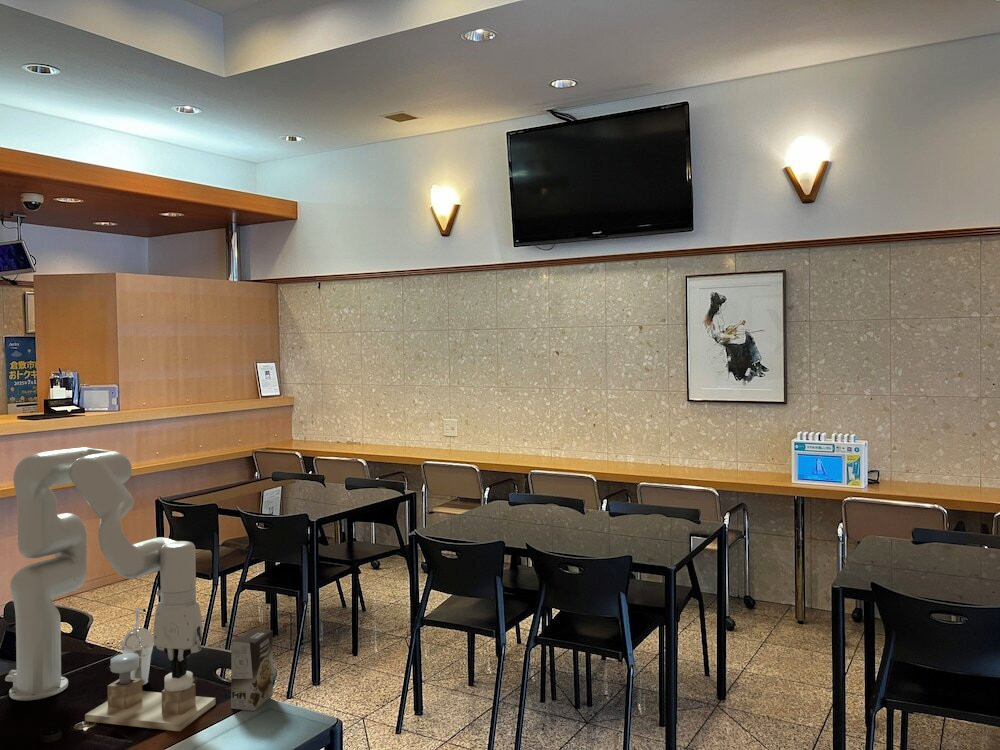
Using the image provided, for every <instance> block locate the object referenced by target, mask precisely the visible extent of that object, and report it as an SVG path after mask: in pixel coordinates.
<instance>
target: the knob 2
mask: <svg viewBox="0 0 1000 750" xmlns="http://www.w3.org/2000/svg"><path fill="white" fill-rule="evenodd" d="M193 675H194V673H193V672H192V671H190V670H187V671H186V674H185V675H183V676H182V677H180V678H176V677H175V678H172V672H169V673H168V674H166V675H165V676H164V689H165V690H167V691H173V692H174V691H182V690H185V689H188V688H190V687H191V686H192V685H193V684H194V682H193V680H194V679H193Z"/></svg>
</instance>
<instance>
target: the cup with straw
mask: <svg viewBox="0 0 1000 750" xmlns="http://www.w3.org/2000/svg"><path fill="white" fill-rule="evenodd" d="M140 612H142V613H146V609H145V608H141V607H140V608H139V607H136V609H135V628H133V629H131V630H129V631H128V632H127V633H125V635H124V638H123V640H122V641H121V642H120V643H119V649H121V650H122V654H126V653H135V654H138V655H139V667H138V668H137V669H136V670H133V671H131V678H140V679H142V686H144V685H147V684H148V683H149V676H150V675H149V674H150V668H151V659H152V653H153V649H154V646H155V645H154V642H153V634H152V633H151V631H150V630H149V629H146V628H145V627H140V619H139V618H140Z"/></svg>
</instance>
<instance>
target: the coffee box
mask: <svg viewBox="0 0 1000 750" xmlns="http://www.w3.org/2000/svg"><path fill="white" fill-rule="evenodd" d="M273 632H274V630H270V629H251V628H250V629H249V630H247V631H245V632H244V633H242V634H241V635H238V636H237V637H236V638H234V639H233V640H231V649H230V651H231V653H230V654H231V655H230V656H231V658H230V659H231V661H230V662H231V665H230V666H231V668H230V670H231V673H230V677H231V678H230V679H231V680H230V681H231V682H230V683H231V685H230V688H231V689H230V692H231V693H230V696H231V697H230V699H231V701H230V709H234V710H242V711H243V710H244V711H251V712H254V711H256V710H258V708H260V707H261V706H262V705H264V703H266V702H267V701H268V700H270V698H272V697H273V695H274V658H273V657H274V653H273V652H274V648H273V647H274V641H273V640H274V639H273V638H274V633H273Z"/></svg>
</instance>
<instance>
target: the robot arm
mask: <svg viewBox="0 0 1000 750" xmlns="http://www.w3.org/2000/svg"><path fill="white" fill-rule="evenodd" d="M132 472H133V467H132V464H131V461H130V460H129V459H128V458H127V456H125V455H124V454H123V453H121V452H118V451H114V450H108V449H100V448H91V447H75V448H74V447H73V448H67V449H66V448H65V449H56V450H46V451H41V452H38V453H34V454H30V455H27V456H26V457H24V458H23V459H21V460H20V461H19V462H18V463H17V465H16V467H15V468H14V472H13V479H12V480H13V488H14V492H15V496H16V503H17V512H16V513H17V516H16V517H17V518H16V519H17V545H18V546H17V547H18V551H19V553H20V555H21V556H23V557H24V558H27V559H38V558H39V559H40V558H44V557H47V556H51V555H54V557H53V558H50V559H46V560H45V559H44V560H41V561H38V562H34V563H30V564H28V565H26V566H23V567H21V568H20V569H18V570H17V571H16V572H15V573H14V574H13V576H12V578H11V580H10V591H11V596H12V601H13V604H14V605H13V606H14V611H15V613H14V614H15V636H16V637H15V638H16V639H15V640H16V641H15V647H16V648H15V650H16V653H15V654H16V655H15V657H16V658H15V659H16V665H15V666H16V669H11V670H9V672H8V674H7V675H6V676H5V678H4V680H5V682H9V683H10V682H11V683H12V687H11V688H10V689H9V691H8V696H9V697H10V698H11V699H12V700H14V701H15V700H16V701H23V702H24V701H36V700H41V699H42V700H43V699H46V698H49V697H51V696H52V697H53V696H56V695H57V694H59V693H62V692H64V690H66V689H67V688H68V686H69V679H68V678H67V677H65V676H62V639H61V638H62V635H61V634H62V632H61V631H62V629H61V626H62V625H61V614H60V611H59V609H58V607H57V606H56V604H55V603H54V602H53V599H55V598H57V597H60V596H63V595H66V594H68V593H71V592H74V591H76V590H78V589H80V588H81V587H82V586H83V584H84V582H85V581H86V577H87V570H88V569H87V568H88V567H87V564H88V563H87V562H88V559H87V556H88V555H87V554H88V553H87V552H88V551H87V550H88V549H87V546H88V545H87V542H88V540H87V530H86V529H87V528H86V526H85V524H84V522H83V520H82V519H81V517H79V515H77V514H74V513H71V512H64V513H63V512H62V513H58V499H57V496H56V495H55V493H54V491H53V490H52V488H50V487H54V486H58V485H66V484H72V483H73V485H74V487H76V489H77V490H78V492H79V493H80V495H81V496H82V497H83V499H84V501H85V502H87V504H88V505H89V507H90V508H91V509H92V512H94V514H95V515H96V516H97V518H98V519H99V526H98V543H99V547H100V550H101V552H102V554H103V556H104V557H105V558H106V560H107V561H108V563H109V564H110V565H111V567H112V569H114V570H115V571H116V573H117V574H119V575H120V576H121V577H123V578H126V579H136V578H141V577H143V576H146V575H149V574H151V573H155V572H160V574H159V575H160V580H159V581H160V589H159V590H157V591H156V596H157V597H160V601H159V602H158V603H157V605H156V608H155V614H154V619H153V631H152V632H153V634H152V636H153V642H154V646H155V647H156V649H157V650H159V651H163V652H165V654H166V655H167V656H168V657H167V658H168V660H169V661H170V662H171V663H170V664H171V667H170V670H171V671H170V673H172V678H175V677H176V678H180V677H182V676H183V675H185V674H186V671H188V657H189V656H190V655H191V654H196V653H198V652H200V651H201V650H202V645H201V643H202V642H203V621H202V619H203V618H202V613H201V612H202V611H201V607H200V603H199V600H197V577H196V576H197V572H196V571H197V568H196V566H197V565H196V557H197V556H196V545H195V544H194V542H192V541H187V540H173V539H171V538H168V537H163V536H161V537H160V536H159V537H154V538H151V539H150V538H149V539H148V540H147V539H146V540H142V541H140V542H135V543H132V542H130V540H129V539H128V537H127V536H126V534H125V532H124V531H123V529H122V526H121V519H123V518H124V517H126V515H128V513H129V512H130V511H132V508H133V507H134V505H135V498H134V497H133V496H132V494H131V493H130V491H129V490H128V489H127V487H126V486H125V485H124V484H125V483H126V482H128V480H129V479H130V478H131V476H132Z"/></svg>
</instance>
